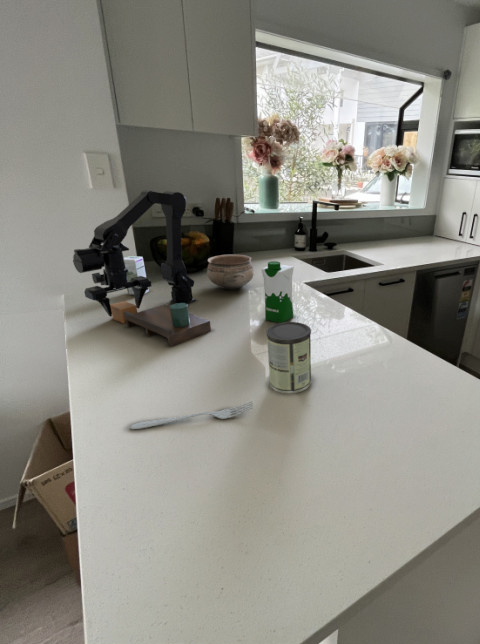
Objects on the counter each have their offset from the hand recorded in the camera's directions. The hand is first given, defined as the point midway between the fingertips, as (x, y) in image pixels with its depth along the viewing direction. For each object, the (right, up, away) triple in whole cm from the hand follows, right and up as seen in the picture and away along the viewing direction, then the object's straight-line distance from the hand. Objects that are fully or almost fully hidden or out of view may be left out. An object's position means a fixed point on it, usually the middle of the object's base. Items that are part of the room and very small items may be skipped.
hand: (124, 312), depth 125 cm
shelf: (+17, -5, -5) cm, 19 cm away
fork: (+41, -24, -46) cm, 66 cm away
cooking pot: (+26, +11, +35) cm, 45 cm away
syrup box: (-9, +8, +25) cm, 28 cm away
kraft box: (0, -2, +1) cm, 3 cm away
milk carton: (+51, -2, +5) cm, 51 cm away
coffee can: (+59, -18, -33) cm, 70 cm away
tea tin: (+23, -4, -10) cm, 26 cm away
